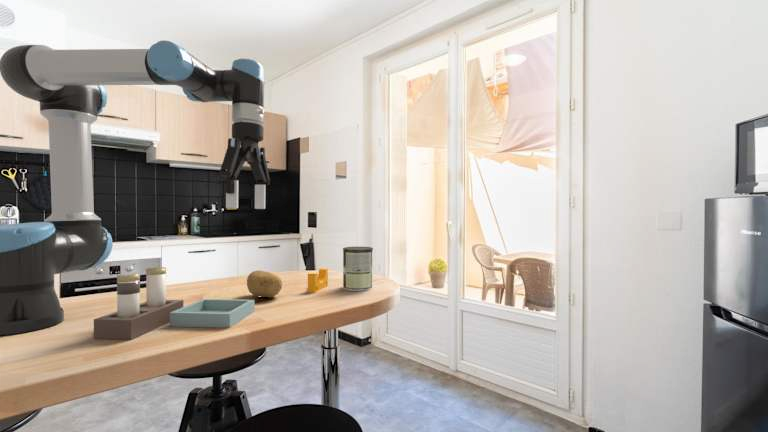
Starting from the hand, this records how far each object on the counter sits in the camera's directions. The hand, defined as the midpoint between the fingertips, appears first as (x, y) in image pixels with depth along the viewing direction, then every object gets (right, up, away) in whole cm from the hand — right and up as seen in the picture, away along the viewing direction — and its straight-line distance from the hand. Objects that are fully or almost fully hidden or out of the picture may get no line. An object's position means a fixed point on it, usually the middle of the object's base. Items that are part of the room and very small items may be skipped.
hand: (247, 208), depth 95 cm
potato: (-2, -27, +20) cm, 34 cm away
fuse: (-20, -26, -5) cm, 33 cm away
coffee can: (+25, -27, +35) cm, 51 cm away
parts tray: (-7, -27, -3) cm, 28 cm away
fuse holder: (-20, -27, -9) cm, 35 cm away
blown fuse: (-21, -27, -14) cm, 36 cm away
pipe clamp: (+11, -27, +34) cm, 45 cm away
